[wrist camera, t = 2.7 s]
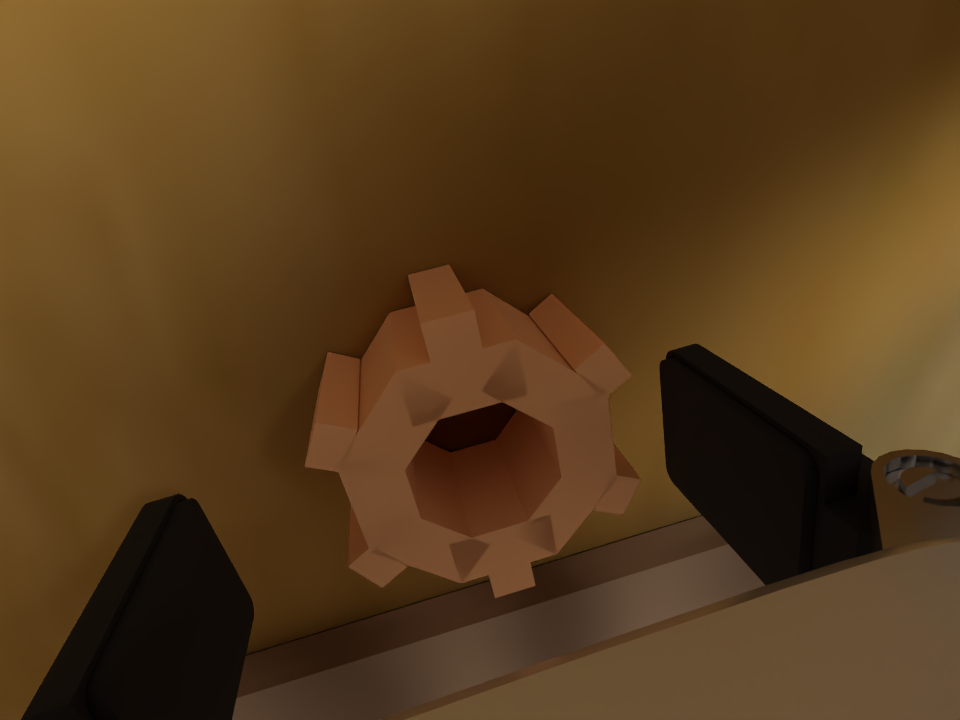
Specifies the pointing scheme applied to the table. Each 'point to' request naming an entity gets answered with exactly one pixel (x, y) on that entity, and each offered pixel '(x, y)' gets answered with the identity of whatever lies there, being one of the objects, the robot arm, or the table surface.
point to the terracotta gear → (481, 468)
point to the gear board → (491, 628)
